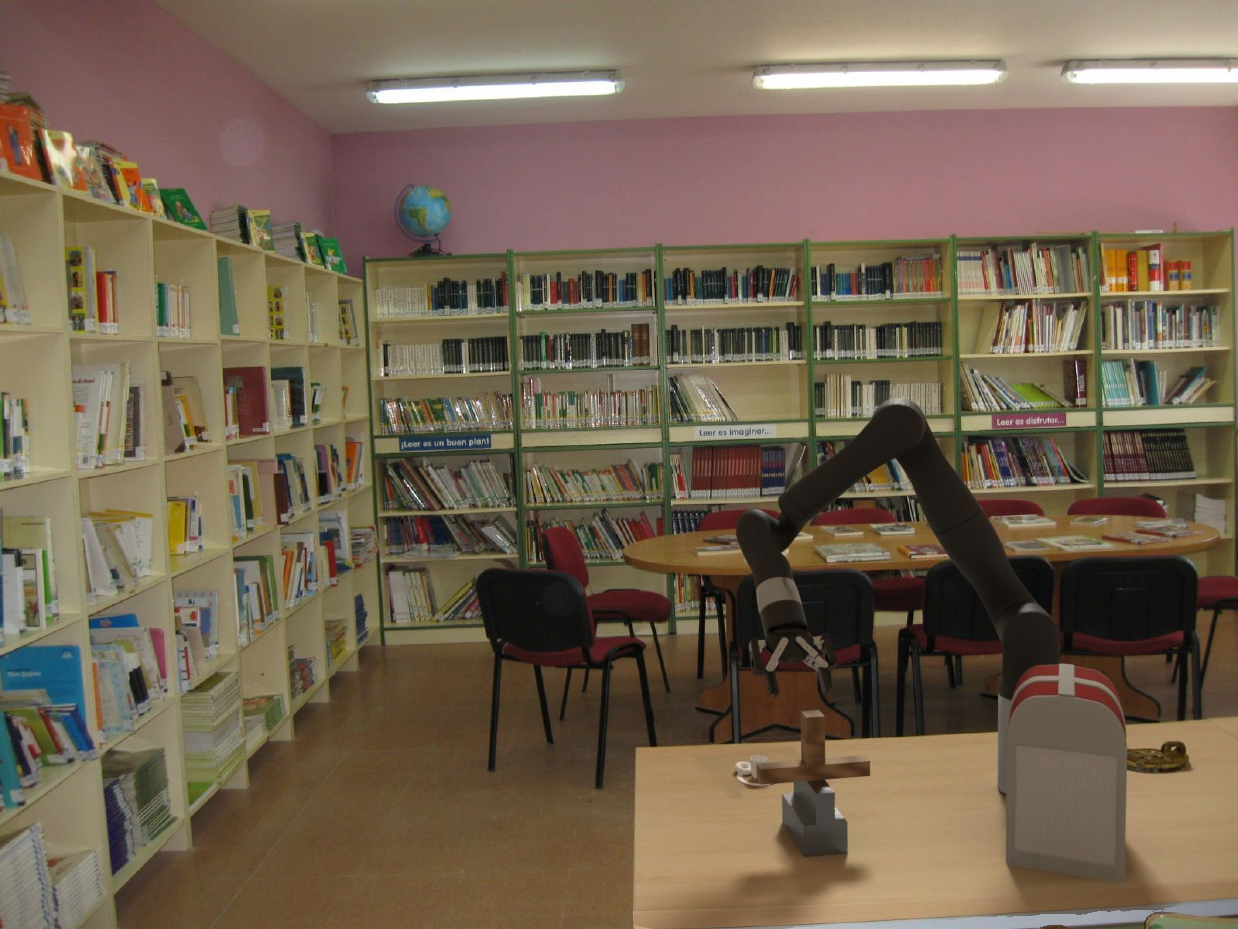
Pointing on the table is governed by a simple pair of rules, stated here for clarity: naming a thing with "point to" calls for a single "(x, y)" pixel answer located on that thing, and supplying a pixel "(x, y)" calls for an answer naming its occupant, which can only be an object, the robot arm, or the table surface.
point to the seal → (1158, 758)
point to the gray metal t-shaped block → (814, 819)
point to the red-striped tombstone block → (1066, 773)
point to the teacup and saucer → (749, 769)
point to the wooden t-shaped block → (812, 758)
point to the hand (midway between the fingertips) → (801, 693)
